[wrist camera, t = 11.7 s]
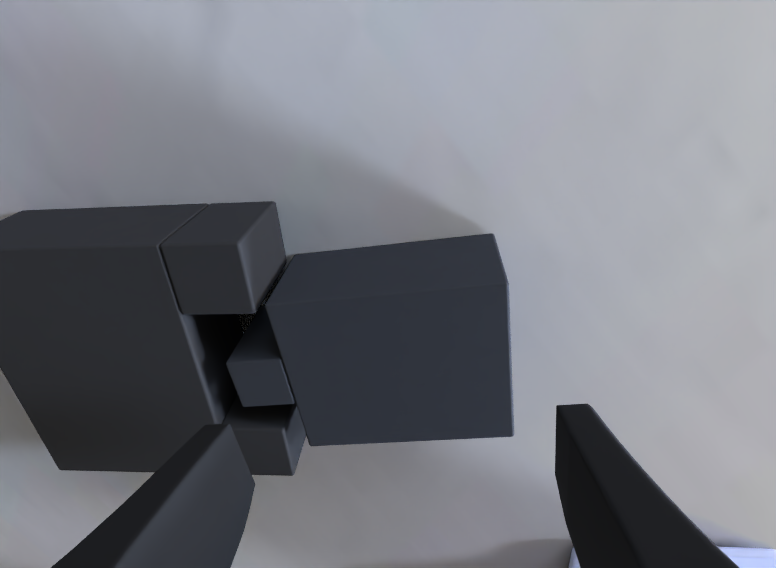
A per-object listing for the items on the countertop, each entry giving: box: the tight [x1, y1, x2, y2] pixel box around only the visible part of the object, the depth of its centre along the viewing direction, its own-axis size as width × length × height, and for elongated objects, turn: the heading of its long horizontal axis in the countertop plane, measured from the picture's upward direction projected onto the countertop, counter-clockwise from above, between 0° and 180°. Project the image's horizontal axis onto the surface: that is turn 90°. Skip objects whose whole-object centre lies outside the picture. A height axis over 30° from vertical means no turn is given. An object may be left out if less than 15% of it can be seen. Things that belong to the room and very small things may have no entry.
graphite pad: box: [226, 234, 514, 446], centre depth 14 cm, size 5×8×3 cm, turn 99°
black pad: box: [0, 201, 306, 476], centre depth 15 cm, size 8×8×3 cm
